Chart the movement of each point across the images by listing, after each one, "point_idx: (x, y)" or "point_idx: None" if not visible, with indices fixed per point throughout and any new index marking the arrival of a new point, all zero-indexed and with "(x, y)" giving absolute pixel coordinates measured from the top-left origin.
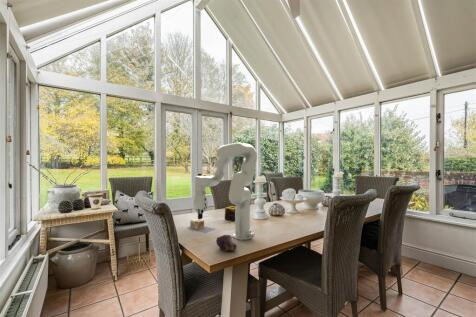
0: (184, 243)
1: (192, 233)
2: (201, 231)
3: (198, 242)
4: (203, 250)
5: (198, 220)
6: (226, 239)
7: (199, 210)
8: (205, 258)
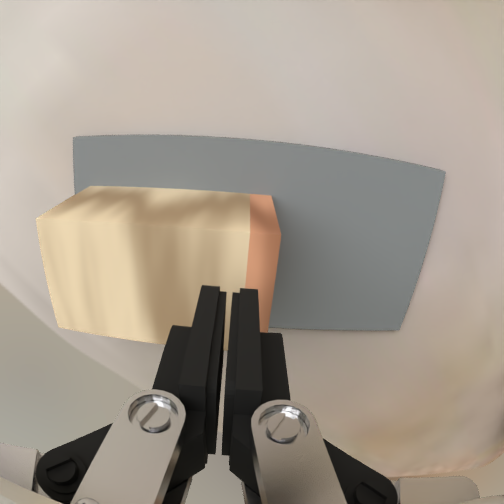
0: None
1: None
2: (336, 329)
3: (409, 440)
4: (455, 454)
5: (171, 285)
6: None
7: (136, 474)
8: (470, 466)
